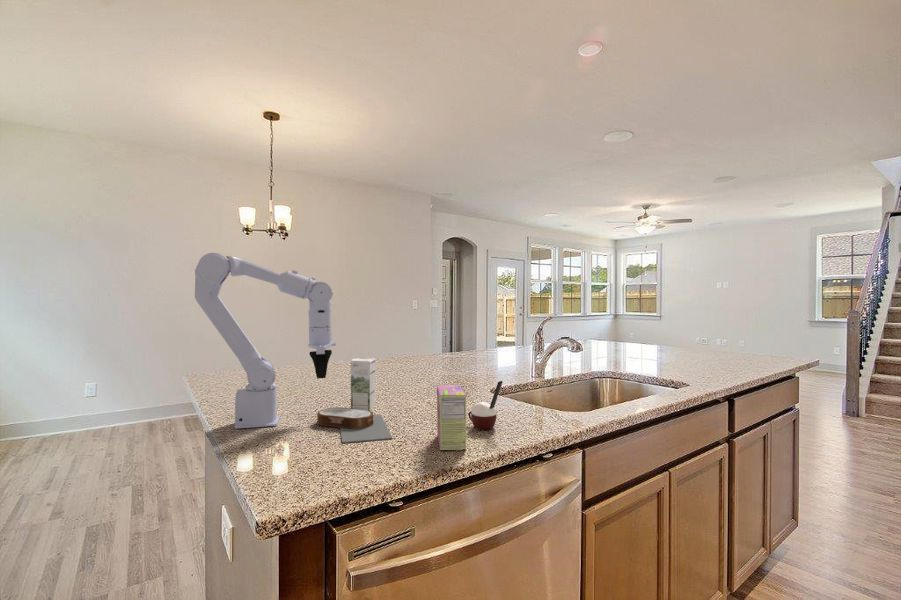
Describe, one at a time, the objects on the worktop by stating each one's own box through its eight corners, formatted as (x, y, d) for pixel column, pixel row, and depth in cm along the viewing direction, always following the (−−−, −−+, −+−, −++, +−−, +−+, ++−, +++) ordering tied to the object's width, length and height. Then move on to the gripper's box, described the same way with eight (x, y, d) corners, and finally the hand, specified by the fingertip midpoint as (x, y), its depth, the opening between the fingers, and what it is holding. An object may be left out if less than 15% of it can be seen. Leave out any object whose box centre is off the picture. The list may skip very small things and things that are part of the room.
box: (436, 435, 100) (436, 384, 100) (461, 435, 101) (461, 384, 101) (439, 451, 90) (439, 395, 90) (466, 451, 90) (466, 394, 90)
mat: (342, 443, 95) (342, 442, 95) (338, 418, 114) (338, 417, 114) (392, 438, 98) (392, 437, 98) (380, 415, 117) (380, 414, 117)
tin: (362, 430, 103) (379, 423, 111) (363, 416, 103) (380, 410, 111) (309, 424, 107) (329, 417, 115) (310, 411, 108) (329, 405, 116)
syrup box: (375, 406, 126) (375, 357, 126) (369, 412, 120) (370, 360, 120) (356, 406, 127) (356, 356, 126) (349, 411, 121) (350, 359, 121)
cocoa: (464, 426, 109) (462, 379, 109) (485, 422, 112) (483, 375, 112) (485, 435, 100) (483, 384, 100) (507, 430, 103) (505, 380, 103)
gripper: (336, 328, 109) (337, 381, 109) (334, 324, 123) (335, 372, 123) (307, 329, 107) (308, 384, 107) (308, 325, 121) (310, 373, 121)
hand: (321, 377), depth 115 cm, fingers closed
